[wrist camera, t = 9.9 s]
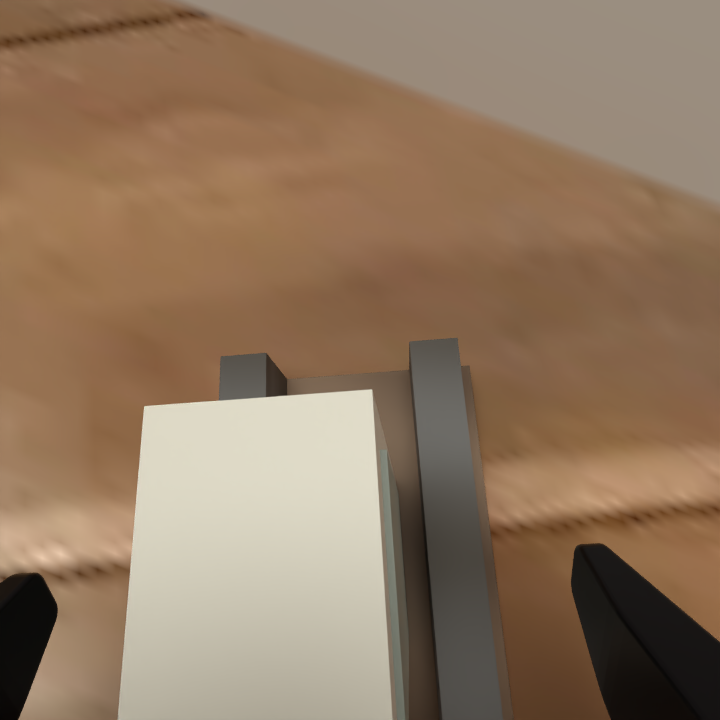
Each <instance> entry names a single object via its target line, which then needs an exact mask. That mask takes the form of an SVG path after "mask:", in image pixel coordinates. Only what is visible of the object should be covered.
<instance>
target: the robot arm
mask: <svg viewBox="0 0 720 720" xmlns="http://www.w3.org/2000/svg"><path fill="white" fill-rule="evenodd" d="M571 587H572V593H573V597H574V601H575V604H576V608H577V611H578V615H579V618H580V622H581V625H582V629H583V632H584V636H585V639H586V643H587V646H588V650H589V653H590V657H591V660H592V664H593V667H594V671H595V674H596V678H597V681H598V684H599V687H600V691H601V694H602V697H603V700H604V702H605V705H606V708H607V710H608V713H609V716H610V718H611V720H720V642H719V641H718V640H717V639H716V638H714V637H713V636H712V635H711V634H710V633H709V632H707V631H706V630H705V629H704V628H703V627H701V626H700V625H699V624H698V623H697V622H696V621H694V620H693V619H692V618H691V617H690V616H688V615H687V614H686V613H685V612H684V611H683V610H681V609H680V608H679V607H678V606H677V605H675V604H674V603H673V602H672V601H671V600H670V599H668V598H667V597H666V596H665V595H664V594H662V593H661V592H660V591H659V590H658V589H657V588H655V587H654V586H653V585H652V584H651V583H649V582H648V581H647V580H646V579H645V578H644V577H642V576H641V575H640V574H639V573H638V572H636V571H635V570H634V569H633V568H632V567H631V566H629V565H628V564H627V563H626V562H625V561H623V560H622V559H621V558H620V557H619V556H618V555H616V554H615V553H614V552H613V551H612V550H610V549H609V548H608V547H607V546H605V545H603V544H600V543H595V544H580V545H577V546H576V548H575V551H574V559H573V568H572V577H571ZM57 613H58V608H57V603H56V601H55V599H54V597H53V595H52V593H51V591H50V590H49V588H48V586H47V584H46V582H45V580H44V578H43V577H42V576H41V575H40V574H38V573H19V574H14V575H12V576H10V577H8V578H7V579H5V580H4V581H2V582H1V583H0V720H18V719H19V716H20V714H21V712H22V709H23V707H24V704H25V702H26V699H27V697H28V694H29V691H30V689H31V686H32V683H33V681H34V678H35V675H36V673H37V670H38V667H39V665H40V662H41V659H42V656H43V654H44V651H45V648H46V646H47V643H48V640H49V638H50V635H51V632H52V630H53V627H54V624H55V622H56V618H57Z"/></svg>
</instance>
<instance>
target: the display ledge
mask: <svg viewBox="0 0 720 720" xmlns="http://www.w3.org/2000/svg"><path fill="white" fill-rule="evenodd" d="M370 389H372V391H373V395H374V399H375V402H376V406H377V410H378V414H379V418H380V422H381V426H382V430H383V434H384V438H385V442H386V446H387V449H388V453H389V457H390V461H391V465H392V469H393V473H394V477H395V481H396V486H397V490H398V494H399V507H400V521H401V534H402V548H403V561H404V575H405V588H406V602H407V615H408V629H409V720H514V717H513V709H512V701H511V693H510V685H509V677H508V669H507V661H506V654H505V646H504V638H503V630H502V622H501V614H500V606H499V598H498V590H497V582H496V574H495V566H494V558H493V550H492V542H491V534H490V526H489V518H488V510H487V502H486V494H485V486H484V478H483V470H482V462H481V454H480V447H479V439H478V431H477V423H476V415H475V407H474V399H473V391H472V383H471V375H470V367H469V366H461V364H460V356H459V347H458V339H457V338H448V339H436V340H423V341H411V342H409V370H403V371H390V372H377V373H364V374H350V375H337V376H324V377H311V378H297V379H286V377H285V376H284V375H283V374H282V372H281V371H280V370H279V368H278V367H277V366H276V365H275V363H274V362H273V361H272V360H271V358H270V357H269V356H268V355H267V353H259V354H247V355H234V356H221V361H220V387H219V401H222V400H236V399H249V398H263V397H276V396H290V395H303V394H316V393H330V392H343V391H357V390H370Z"/></svg>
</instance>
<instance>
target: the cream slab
mask: <svg viewBox="0 0 720 720" xmlns="http://www.w3.org/2000/svg"><path fill="white" fill-rule="evenodd" d="M118 720H409V629H408V615H407V602H406V588H405V575H404V561H403V548H402V534H401V521H400V507H399V494H398V490H397V486H396V481H395V477H394V473H393V469H392V465H391V461H390V457H389V453H388V449H387V446H386V442H385V438H384V434H383V430H382V426H381V422H380V418H379V414H378V410H377V406H376V402H375V399H374V395H373V391H372V389H370V390H357V391H343V392H330V393H316V394H303V395H290V396H276V397H263V398H249V399H236V400H222V401H209V402H196V403H182V404H169V405H155V406H144V416H143V427H142V439H141V451H140V463H139V474H138V486H137V498H136V510H135V521H134V533H133V545H132V557H131V569H130V580H129V592H128V604H127V616H126V627H125V639H124V651H123V663H122V674H121V686H120V698H119V710H118Z"/></svg>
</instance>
